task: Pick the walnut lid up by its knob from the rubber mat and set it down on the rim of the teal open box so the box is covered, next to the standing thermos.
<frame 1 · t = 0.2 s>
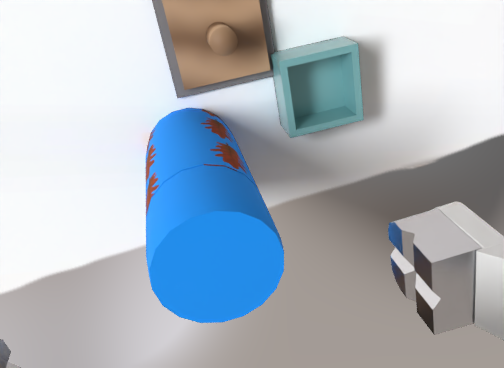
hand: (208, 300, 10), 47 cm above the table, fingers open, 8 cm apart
thermos: (190, 148, 59), on the table
lid: (217, 33, 53), point 1 cm above the table, touching mat
mat: (216, 33, 53), on the table
teal open box: (311, 82, 58), on the table
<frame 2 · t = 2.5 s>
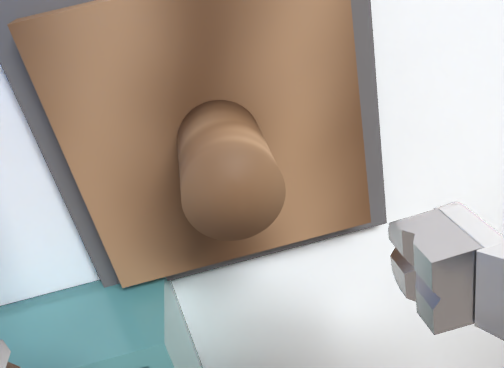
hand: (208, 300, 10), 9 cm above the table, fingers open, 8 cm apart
lid: (216, 129, 17), point 1 cm above the table, touching mat
mat: (214, 123, 18), on the table
teal open box: (96, 363, 22), on the table
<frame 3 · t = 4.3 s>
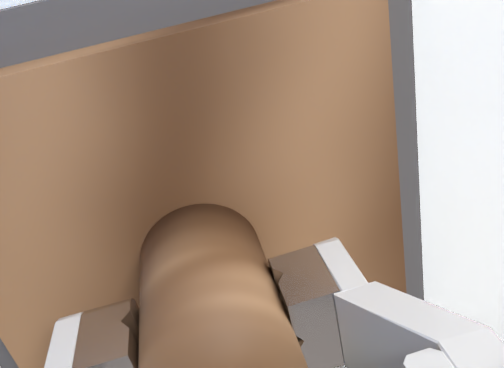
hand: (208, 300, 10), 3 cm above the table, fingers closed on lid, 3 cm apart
lid: (197, 233, 12), point 1 cm above the table, touching gripper, mat
mat: (195, 221, 13), on the table
when the fingers open (8 cm above the table, at t = 8.6 s): lid stays where it is, resting on teal open box.
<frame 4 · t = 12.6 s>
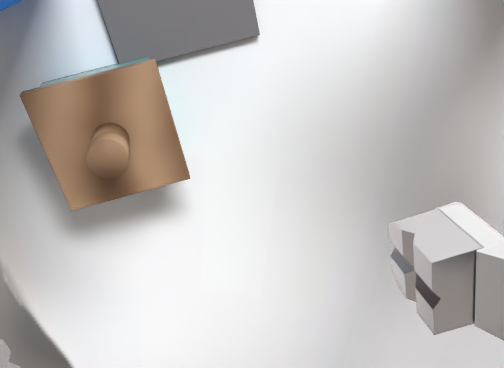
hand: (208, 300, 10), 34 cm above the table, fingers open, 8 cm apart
lid: (111, 135, 38), point 4 cm above the table, touching teal open box
teal open box: (114, 118, 42), on the table
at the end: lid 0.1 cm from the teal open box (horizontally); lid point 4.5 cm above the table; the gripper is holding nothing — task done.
